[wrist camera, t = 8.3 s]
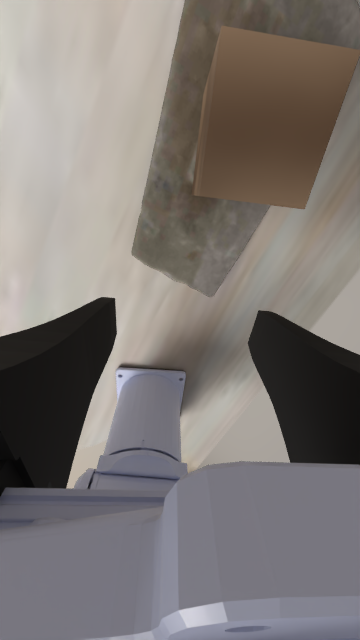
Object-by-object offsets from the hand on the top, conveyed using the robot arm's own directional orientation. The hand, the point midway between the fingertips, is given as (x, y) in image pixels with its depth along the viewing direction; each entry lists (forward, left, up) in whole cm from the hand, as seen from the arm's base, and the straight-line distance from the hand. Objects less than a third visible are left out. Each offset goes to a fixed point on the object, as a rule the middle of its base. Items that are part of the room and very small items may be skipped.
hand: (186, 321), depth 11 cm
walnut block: (+8, -3, -8) cm, 12 cm away
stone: (+8, -2, -10) cm, 13 cm away
